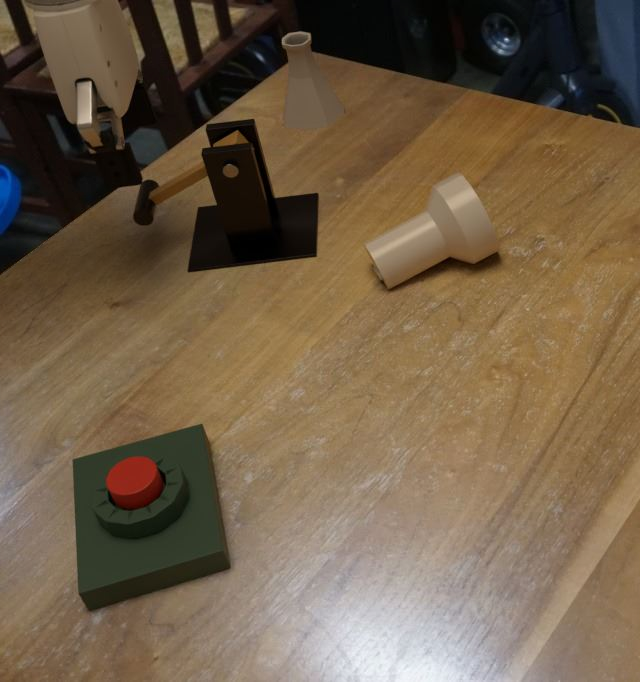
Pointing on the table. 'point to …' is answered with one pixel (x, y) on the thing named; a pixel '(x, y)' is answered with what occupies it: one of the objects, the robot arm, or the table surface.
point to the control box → (148, 521)
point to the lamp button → (134, 483)
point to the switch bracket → (248, 208)
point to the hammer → (173, 185)
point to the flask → (307, 88)
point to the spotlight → (435, 234)
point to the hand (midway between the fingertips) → (133, 153)
